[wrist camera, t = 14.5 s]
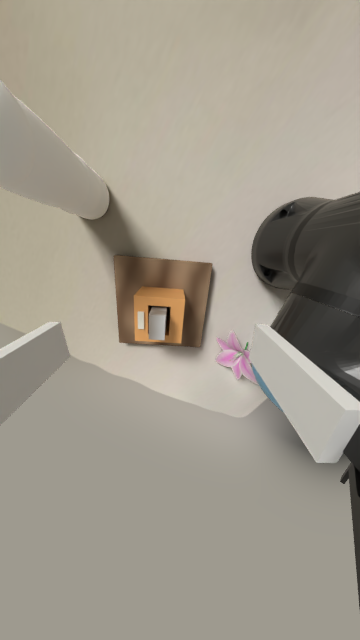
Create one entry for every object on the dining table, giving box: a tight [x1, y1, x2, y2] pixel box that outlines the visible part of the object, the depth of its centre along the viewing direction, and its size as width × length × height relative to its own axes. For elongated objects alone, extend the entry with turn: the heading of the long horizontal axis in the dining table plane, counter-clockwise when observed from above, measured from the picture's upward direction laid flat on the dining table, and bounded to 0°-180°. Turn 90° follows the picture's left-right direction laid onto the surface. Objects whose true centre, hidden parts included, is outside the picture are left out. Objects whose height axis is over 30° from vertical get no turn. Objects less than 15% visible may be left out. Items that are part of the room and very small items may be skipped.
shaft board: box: [114, 255, 212, 347], centre depth 30 cm, size 18×18×12 cm
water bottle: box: [0, 80, 109, 219], centre depth 17 cm, size 7×7×25 cm
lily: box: [215, 330, 259, 385], centre depth 37 cm, size 12×12×10 cm
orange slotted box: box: [134, 286, 185, 343], centre depth 31 cm, size 8×8×7 cm
